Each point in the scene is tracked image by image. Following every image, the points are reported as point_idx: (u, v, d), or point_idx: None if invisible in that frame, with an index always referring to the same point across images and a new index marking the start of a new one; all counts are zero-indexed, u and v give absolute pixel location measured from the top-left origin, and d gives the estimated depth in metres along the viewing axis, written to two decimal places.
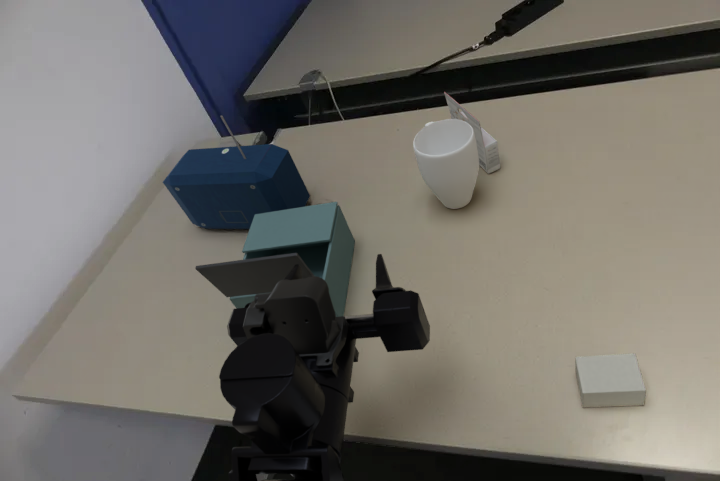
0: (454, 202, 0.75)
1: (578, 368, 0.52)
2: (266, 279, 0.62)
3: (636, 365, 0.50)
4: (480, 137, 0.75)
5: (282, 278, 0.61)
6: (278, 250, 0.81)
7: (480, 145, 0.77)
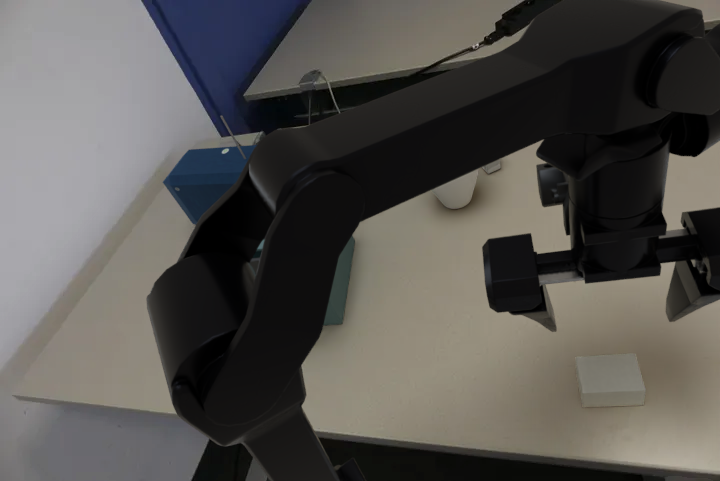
0: (454, 202, 0.75)
1: (578, 368, 0.52)
2: None
3: (636, 365, 0.50)
4: None
5: None
6: None
7: None
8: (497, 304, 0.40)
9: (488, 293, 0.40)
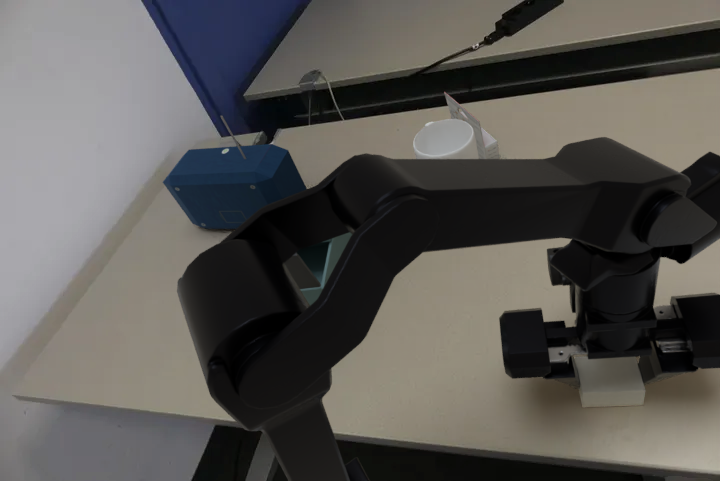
0: None
1: (578, 368, 0.52)
2: None
3: (636, 365, 0.50)
4: (480, 137, 0.75)
5: None
6: None
7: (480, 145, 0.77)
8: (512, 372, 0.46)
9: (505, 363, 0.46)
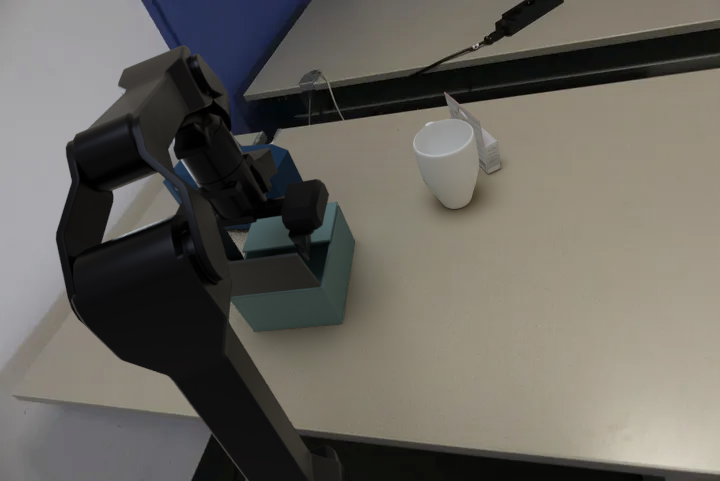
0: (454, 202, 0.75)
1: None
2: (266, 279, 0.62)
3: None
4: (480, 137, 0.75)
5: (282, 278, 0.61)
6: (278, 250, 0.81)
7: (480, 145, 0.77)
8: None
9: None
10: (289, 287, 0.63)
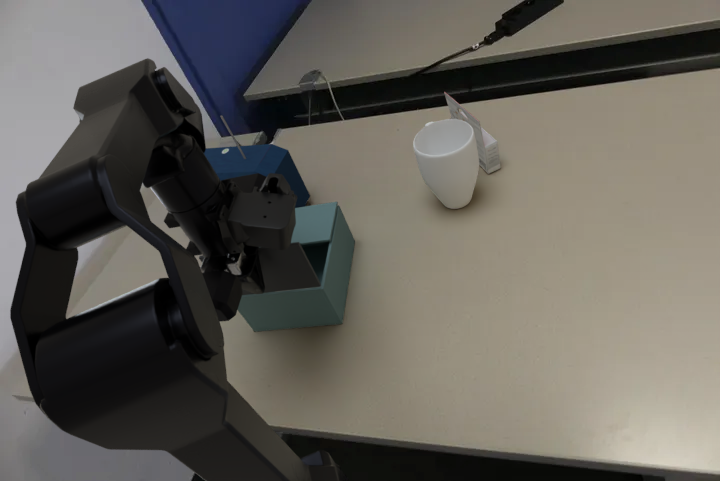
0: (454, 202, 0.75)
1: None
2: (267, 274, 0.62)
3: None
4: (480, 137, 0.75)
5: (283, 273, 0.62)
6: None
7: (480, 145, 0.77)
8: None
9: None
10: (289, 285, 0.63)
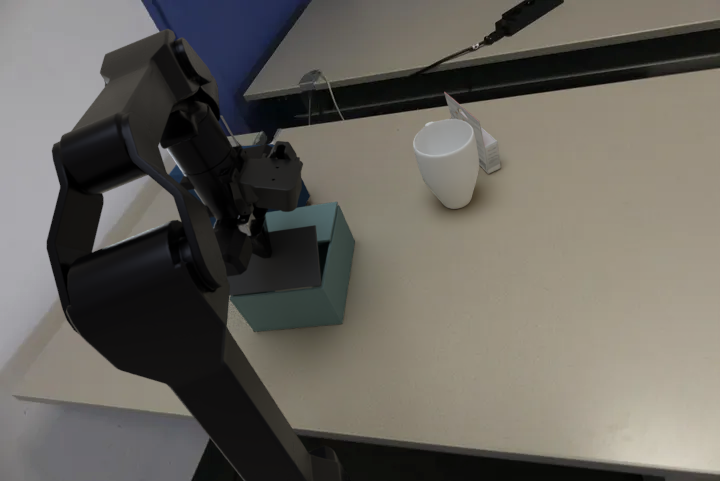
0: (454, 202, 0.75)
1: None
2: (275, 264, 0.64)
3: None
4: (480, 137, 0.75)
5: (290, 264, 0.64)
6: None
7: (480, 145, 0.77)
8: None
9: None
10: (291, 282, 0.64)
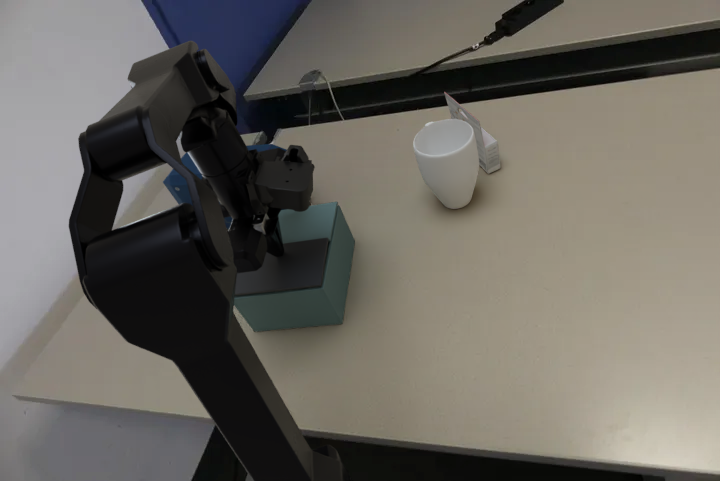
0: (454, 202, 0.75)
1: None
2: (281, 268, 0.66)
3: None
4: (480, 137, 0.75)
5: (296, 268, 0.65)
6: None
7: (480, 145, 0.77)
8: None
9: None
10: (293, 282, 0.64)
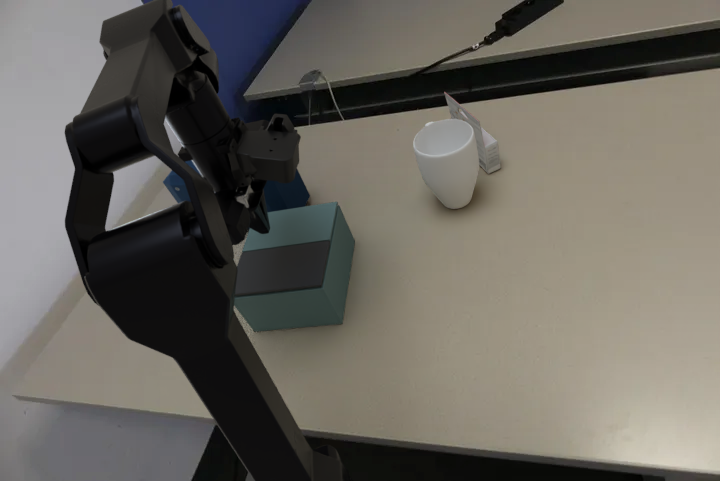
0: (454, 202, 0.75)
1: None
2: (282, 270, 0.66)
3: None
4: (480, 137, 0.75)
5: (297, 269, 0.66)
6: None
7: (480, 145, 0.77)
8: None
9: None
10: (293, 282, 0.64)
